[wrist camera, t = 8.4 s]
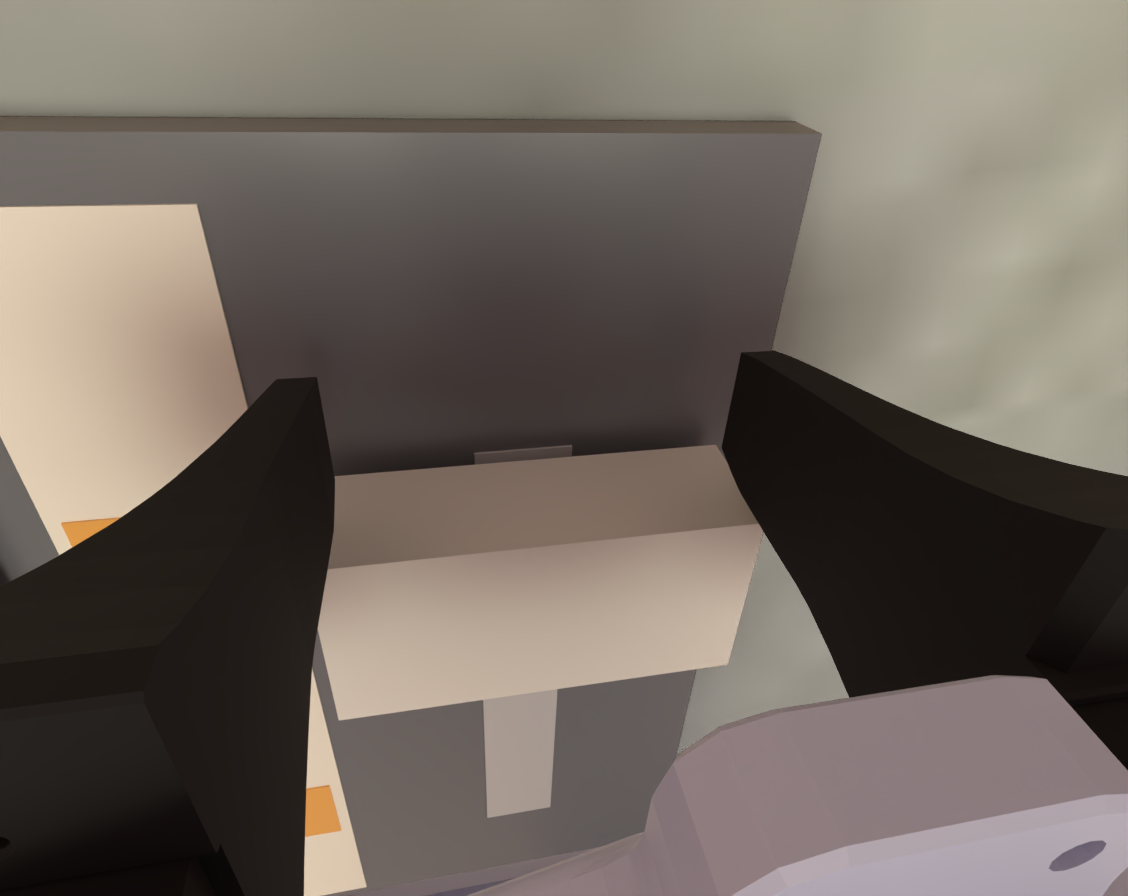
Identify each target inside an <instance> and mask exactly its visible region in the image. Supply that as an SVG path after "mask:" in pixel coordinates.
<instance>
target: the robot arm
mask: <svg viewBox="0 0 1128 896" xmlns="http://www.w3.org/2000/svg"><path fill="white" fill-rule="evenodd" d="M721 448H722V450H723V453H724V456H725V458H726V461H727V463H728V466H729V468H730V471H731V473H732V476H733V478H734V480H735V482H736V485H737V487H738V489H739V491H740V493H741V495H742V497H743V498H744V500H745V502H746V504H747V505H748V507H749V509H750V510H751V512H752V514H753V515H754V517H755V518H756V520H757V522H758V523H759V525H760V527H761V528H762V530H763V532H764V533H765V535H766V536H767V538H768V540H769V541H770V543H771V544H772V546H773V548H774V549H775V551H776V552H777V554H778V556H779V557H780V559H781V561H782V562H783V564H784V565H785V567H786V569H787V570H788V572H789V573H790V575H791V577H792V578H793V580H794V581H795V583H796V585H797V586H798V588H799V590H800V592H801V594H802V595H803V597H804V599H805V601H806V603H807V604H808V606H809V608H810V611H811V613H812V615H813V617H814V619H815V621H816V623H817V625H818V628H819V630H820V632H821V634H822V636H823V638H824V640H825V643H826V645H827V647H828V649H829V651H830V653H831V656H832V658H833V660H834V663H835V665H836V667H837V670H838V672H839V674H840V677H841V679H842V681H843V684H844V686H845V688H846V691H847V693H848V695H849V698H845V699H838V700H832V701H826V702H819V703H813V704H807V705H800V706H794V707H788V708H782V709H775V710H770V711H767V712H764V713H761V714H758V715H754V716H751V717H748V718H745V719H742V720H739V721H735V722H732V723H729V724H726V725H723V726H720V727H718V728H717V729H715V730H714V731H712V732H711V733H709V734H708V735H706V736H705V737H703V738H702V739H700V740H699V741H697V742H696V743H695V744H693V745H692V746H690V747H689V748H687V749H686V750H684V751H683V752H681V753H680V754H678V756H677V757H676V759H675V760H674V762H673V764H672V765H671V767H670V768H669V770H668V771H667V773H666V775H665V776H664V778H663V779H662V781H661V782H660V784H659V786H658V787H657V789H656V791H655V793H654V794H653V796H652V798H651V803H650V808H649V812H648V817H647V822H646V826H645V831H644V832H641V833H638V834H635V835H632V836H629V837H626V838H624V839H621V840H618V841H615V842H613V843H610V844H607V845H604V846H602V847H597V848H592V849H586V850H581V851H576V852H570V853H565V854H560V855H554V856H549V857H544V858H538V859H533V860H528V861H522V862H517V863H512V864H506V865H501V866H496V867H490V868H485V869H480V870H474V871H469V872H464V873H458V874H453V875H448V876H442V877H437V878H432V879H426V880H421V881H416V882H410V883H405V884H400V885H394V886H389V887H384V888H378V889H373V890H368V891H362V892H357V893H352V894H346V895H341V896H1128V476H1123V475H1118V474H1113V473H1108V472H1103V471H1098V470H1094V469H1089V468H1085V467H1080V466H1076V465H1072V464H1067V463H1063V462H1060V461H1056V460H1052V459H1048V458H1045V457H1041V456H1037V455H1034V454H1030V453H1026V452H1022V451H1019V450H1016V449H1012V448H1009V447H1006V446H1002V445H999V444H996V443H993V442H990V441H987V440H984V439H981V438H978V437H975V436H972V435H969V434H966V433H964V432H961V431H958V430H955V429H952V428H950V427H947V426H944V425H942V424H939V423H936V422H934V421H931V420H929V419H927V418H924V417H922V416H920V415H917V414H915V413H912V412H910V411H908V410H905V409H903V408H901V407H898V406H896V405H894V404H892V403H889V402H887V401H885V400H883V399H880V398H878V397H876V396H874V395H872V394H870V393H868V392H865V391H863V390H861V389H859V388H857V387H855V386H853V385H851V384H849V383H847V382H844V381H842V380H840V379H838V378H836V377H834V376H832V375H830V374H828V373H826V372H824V371H821V370H819V369H817V368H815V367H813V366H811V365H809V364H806V363H804V362H802V361H800V360H797V359H795V358H792V357H790V356H787V355H785V354H782V353H779V352H776V351H759V352H742V353H741V355H740V360H739V365H738V370H737V375H736V380H735V384H734V389H733V394H732V399H731V404H730V408H729V413H728V418H727V423H726V428H725V433H724V437H723V442H722V447H721ZM334 511H335V476H334V471H333V465H332V459H331V454H330V448H329V442H328V437H327V431H326V426H325V420H324V414H323V409H322V403H321V397H320V392H319V386H318V380H317V377H306V378H288V379H276V380H275V381H274V382H273V383H272V384H271V385H270V386H269V387H268V388H267V389H266V390H265V391H264V392H263V393H262V395H261V396H260V397H259V398H258V399H257V400H256V401H255V402H254V403H253V404H252V405H251V406H250V407H249V408H248V409H247V410H246V411H245V412H244V413H243V414H242V415H241V417H240V418H239V419H238V420H237V421H236V422H235V423H234V424H233V425H232V426H231V427H230V428H229V429H228V430H227V431H226V432H225V433H224V434H223V435H222V436H221V437H220V438H219V439H218V440H217V441H216V442H215V443H214V444H212V445H211V446H210V447H209V448H208V449H207V450H206V451H204V452H203V453H202V454H201V455H200V456H199V457H198V458H197V459H195V460H194V461H193V462H192V463H191V464H190V465H189V466H187V467H186V468H185V469H184V470H183V471H182V472H181V473H180V474H178V475H177V476H176V477H175V478H174V479H173V480H171V481H170V482H169V483H168V484H166V485H165V486H164V487H162V488H161V489H160V490H159V491H157V492H156V493H155V494H153V495H152V496H151V497H149V498H148V499H147V500H145V501H144V502H142V503H141V504H139V505H138V506H137V507H135V508H134V509H132V510H131V511H130V512H128V513H127V514H125V515H124V516H123V517H121V518H119V519H118V520H116V521H115V522H113V523H112V524H110V525H109V526H107V527H105V528H104V529H102V530H100V531H99V532H97V533H95V534H94V535H92V536H90V537H89V538H87V539H85V540H84V541H82V542H80V543H79V544H77V545H75V546H74V547H72V548H70V549H69V550H67V551H65V552H64V553H62V554H60V555H59V556H57V557H56V558H54V559H52V560H50V561H48V562H47V563H45V564H43V565H41V566H39V567H37V568H35V569H33V570H31V571H29V572H28V573H26V574H24V575H22V576H20V577H18V578H16V579H14V580H12V581H10V582H8V583H6V584H4V585H2V586H0V896H304V855H305V818H306V783H307V759H308V734H309V714H310V695H311V676H312V665H313V656H314V648H315V641H316V635H317V629H318V623H319V617H320V611H321V606H322V600H323V594H324V588H325V582H326V576H327V570H328V564H329V558H330V552H331V546H332V539H333V533H334Z"/></svg>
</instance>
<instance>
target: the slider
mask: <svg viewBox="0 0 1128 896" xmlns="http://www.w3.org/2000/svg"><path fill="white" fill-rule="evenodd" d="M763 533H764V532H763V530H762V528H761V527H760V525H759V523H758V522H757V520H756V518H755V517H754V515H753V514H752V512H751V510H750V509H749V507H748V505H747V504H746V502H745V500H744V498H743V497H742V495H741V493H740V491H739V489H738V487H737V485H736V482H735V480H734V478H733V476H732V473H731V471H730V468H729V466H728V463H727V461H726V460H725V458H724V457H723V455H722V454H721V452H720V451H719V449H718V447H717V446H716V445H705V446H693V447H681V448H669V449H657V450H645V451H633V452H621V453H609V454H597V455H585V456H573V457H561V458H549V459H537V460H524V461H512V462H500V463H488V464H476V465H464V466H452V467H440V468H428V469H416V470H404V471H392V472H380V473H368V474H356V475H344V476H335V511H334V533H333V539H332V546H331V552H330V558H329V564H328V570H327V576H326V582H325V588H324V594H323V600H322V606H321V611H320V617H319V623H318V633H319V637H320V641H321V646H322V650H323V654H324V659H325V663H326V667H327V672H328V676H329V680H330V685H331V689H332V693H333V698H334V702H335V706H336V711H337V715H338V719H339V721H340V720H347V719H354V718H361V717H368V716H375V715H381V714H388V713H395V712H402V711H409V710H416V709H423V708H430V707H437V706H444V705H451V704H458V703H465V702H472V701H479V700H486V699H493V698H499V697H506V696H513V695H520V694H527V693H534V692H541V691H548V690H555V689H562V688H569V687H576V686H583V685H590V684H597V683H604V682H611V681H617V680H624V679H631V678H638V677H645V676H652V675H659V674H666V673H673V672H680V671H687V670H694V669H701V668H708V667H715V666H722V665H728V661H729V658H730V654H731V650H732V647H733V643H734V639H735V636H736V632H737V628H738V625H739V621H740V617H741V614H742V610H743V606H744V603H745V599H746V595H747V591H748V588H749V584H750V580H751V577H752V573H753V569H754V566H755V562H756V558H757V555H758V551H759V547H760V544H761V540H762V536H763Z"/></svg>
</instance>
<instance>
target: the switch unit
mask: <svg viewBox="0 0 1128 896" xmlns="http://www.w3.org/2000/svg"><path fill="white" fill-rule="evenodd" d="M821 135H822V134H821V133H819V132H817V131H815V130H812V129H810V128H808V127H806V126H804V125H802V124H799V123H797V122H795V121H644V120H486V119H328V118H170V117H12V116H0V586H2V585H4V584H6V583H8V582H10V581H12V580H14V579H16V578H18V577H20V576H22V575H24V574H26V573H28V572H29V571H31V570H33V569H35V568H37V567H39V566H41V565H43V564H45V563H47V562H48V561H50V560H52V559H54V558H56V557H57V556H59V555H60V554H62V553H64V552H65V551H67V550H69V549H70V548H72V547H74V546H75V545H77V544H79V543H80V542H82V541H84V540H85V539H87V538H89V537H90V536H92V535H94V534H95V533H97V532H99V531H100V530H102V529H104V528H105V527H107V526H109V525H110V524H112V523H113V522H115V521H116V520H118V519H119V518H121V517H123V516H124V515H125V514H127V513H128V512H130V511H131V510H132V509H134V508H135V507H137V506H138V505H139V504H141V503H142V502H144V501H145V500H147V499H148V498H149V497H151V496H152V495H153V494H155V493H156V492H157V491H159V490H160V489H161V488H162V487H164V486H165V485H166V484H168V483H169V482H170V481H171V480H173V479H174V478H175V477H176V476H177V475H178V474H180V473H181V472H182V471H183V470H184V469H185V468H186V467H187V466H189V465H190V464H191V463H192V462H193V461H194V460H195V459H197V458H198V457H199V456H200V455H201V454H202V453H203V452H204V451H206V450H207V449H208V448H209V447H210V446H211V445H212V444H214V443H215V442H216V441H217V440H218V439H219V438H220V437H221V436H222V435H223V434H224V433H225V432H226V431H227V430H228V429H229V428H230V427H231V426H232V425H233V424H234V423H235V422H236V421H237V420H238V419H239V418H240V417H241V415H242V414H243V413H244V412H245V411H246V410H247V409H248V408H249V407H250V406H251V405H252V404H253V403H254V402H255V401H256V400H257V399H258V398H259V397H260V396H261V395H262V393H263V392H264V391H265V390H266V389H267V388H268V387H269V386H270V385H271V384H272V383H273V382H274V381H275V380H276V379H288V378H306V377H317V380H318V386H319V392H320V397H321V403H322V409H323V414H324V420H325V426H326V431H327V437H328V442H329V448H330V454H331V459H332V465H333V471H334V476H344V475H356V474H368V473H380V472H392V471H404V470H416V469H428V468H440V467H452V466H464V465H476V464H488V463H500V462H512V461H524V460H537V459H549V458H561V457H573V456H585V455H597V454H609V453H621V452H633V451H645V450H657V449H669V448H681V447H693V446H705V445H716V446H717V447H718V449H719V451H720V452H721V454H722V455H723V457H724V458H725V456H724V453H723V450H722V448H721V447H722V442H723V437H724V433H725V428H726V423H727V418H728V413H729V408H730V404H731V399H732V394H733V389H734V384H735V380H736V375H737V370H738V365H739V360H740V355H741V353H742V352H759V351H771V349H772V345H773V340H774V336H775V332H776V328H777V323H778V319H779V315H780V311H781V306H782V302H783V298H784V293H785V289H786V285H787V281H788V276H789V272H790V268H791V264H792V259H793V255H794V251H795V247H796V242H797V238H798V234H799V229H800V225H801V221H802V217H803V212H804V208H805V204H806V200H807V195H808V191H809V187H810V182H811V178H812V174H813V170H814V165H815V161H816V157H817V153H818V148H819V144H820V140H821ZM725 460H726V458H725ZM695 674H696V669H694V670H687V671H680V672H673V673H666V674H659V675H652V676H645V677H638V678H631V679H624V680H617V681H611V682H604V683H597V684H590V685H583V686H576V687H569V688H562V689H555V690H548V691H541V692H534V693H527V694H520V695H513V696H506V697H499V698H493V699H486V700H479V701H472V702H465V703H458V704H451V705H444V706H437V707H430V708H423V709H416V710H409V711H402V712H395V713H388V714H381V715H375V716H368V717H361V718H354V719H347V720H340V721H339V719H338V715H337V711H336V706H335V702H334V698H333V693H332V689H331V685H330V680H329V676H328V672H327V667H326V663H325V659H324V654H323V650H322V646H321V641H320V637H319V633H318V629H317V635H316V641H315V648H314V656H313V665H312V676H311V695H310V714H309V734H308V759H307V783H306V818H305V855H304V896H341V895H346V894H352V893H357V892H362V891H368V890H373V889H378V888H384V887H389V886H394V885H400V884H405V883H410V882H416V881H421V880H426V879H432V878H437V877H442V876H448V875H453V874H458V873H464V872H469V871H474V870H480V869H485V868H490V867H496V866H501V865H506V864H512V863H517V862H522V861H528V860H533V859H538V858H544V857H549V856H554V855H560V854H565V853H570V852H576V851H581V850H586V849H592V848H597V847H602V846H604V845H607V844H610V843H613V842H615V841H618V840H621V839H624V838H626V837H629V836H632V835H635V834H638V833H641V832H644V831H645V826H646V822H647V817H648V812H649V808H650V803H651V798H652V796H653V794H654V793H655V791H656V789H657V787H658V786H659V784H660V782H661V781H662V779H663V778H664V776H665V775H666V773H667V771H668V770H669V768H670V767H671V765H672V764H673V762H674V760H675V759H676V755H677V750H678V746H679V742H680V738H681V733H682V729H683V725H684V721H685V716H686V712H687V708H688V704H689V699H690V695H691V691H692V686H693V682H694V678H695Z"/></svg>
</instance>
